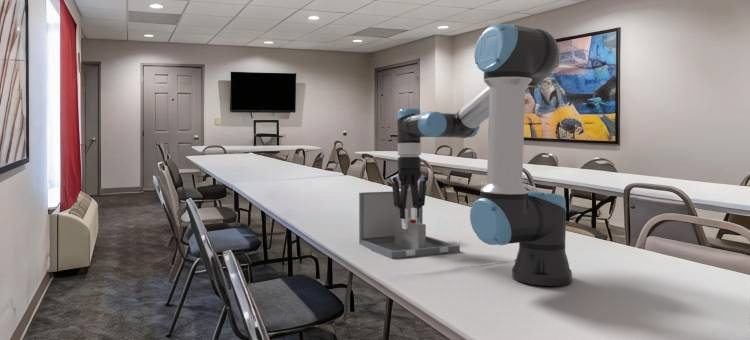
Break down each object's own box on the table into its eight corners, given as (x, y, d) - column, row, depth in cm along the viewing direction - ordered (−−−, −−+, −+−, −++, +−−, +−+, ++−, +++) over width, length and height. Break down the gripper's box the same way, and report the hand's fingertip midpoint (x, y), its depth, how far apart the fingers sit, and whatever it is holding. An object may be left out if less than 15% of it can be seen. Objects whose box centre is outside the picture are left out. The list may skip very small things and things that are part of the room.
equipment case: (460, 252, 162) (461, 195, 161) (392, 259, 151) (392, 198, 150) (420, 240, 184) (421, 190, 183) (359, 245, 173) (359, 192, 172)
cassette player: (425, 253, 160) (425, 221, 160) (418, 253, 159) (418, 221, 159) (401, 244, 174) (401, 215, 174) (394, 245, 173) (394, 216, 173)
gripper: (424, 156, 173) (424, 225, 173) (382, 156, 166) (382, 228, 166) (436, 156, 166) (436, 228, 166) (393, 156, 159) (393, 231, 160)
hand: (409, 228), depth 166 cm, fingers open, 3 cm apart
